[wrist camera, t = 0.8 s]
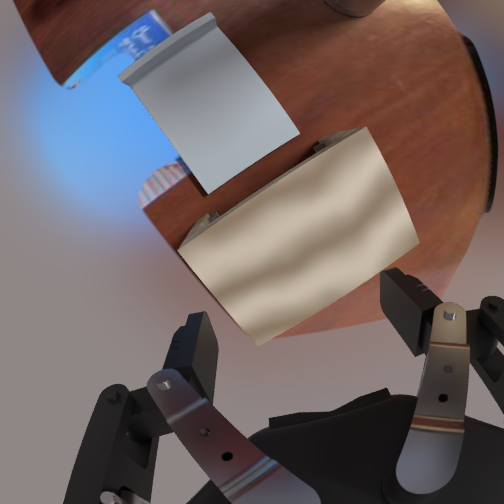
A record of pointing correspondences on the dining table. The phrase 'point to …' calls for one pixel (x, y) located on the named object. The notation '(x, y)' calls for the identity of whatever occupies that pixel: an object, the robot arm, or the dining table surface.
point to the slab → (209, 102)
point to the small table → (303, 237)
